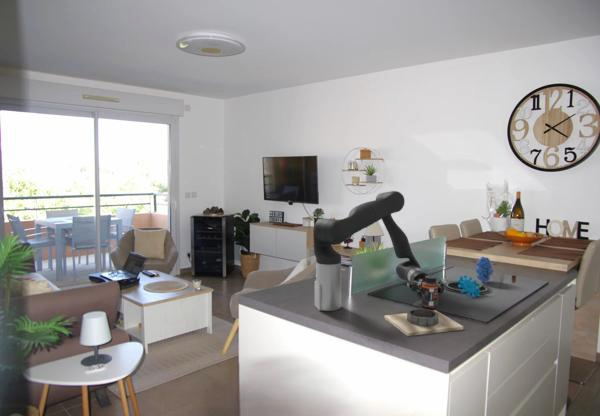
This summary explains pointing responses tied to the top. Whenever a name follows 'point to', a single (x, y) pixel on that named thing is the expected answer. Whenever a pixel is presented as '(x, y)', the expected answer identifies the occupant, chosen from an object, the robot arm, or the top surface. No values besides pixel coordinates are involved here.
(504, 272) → the top surface
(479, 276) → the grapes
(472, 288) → the gear
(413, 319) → the metal collar
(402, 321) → the birch board
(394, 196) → the robot arm
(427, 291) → the supplement bottle
